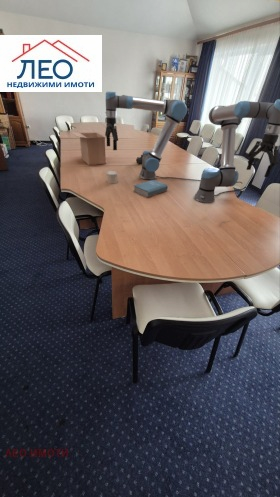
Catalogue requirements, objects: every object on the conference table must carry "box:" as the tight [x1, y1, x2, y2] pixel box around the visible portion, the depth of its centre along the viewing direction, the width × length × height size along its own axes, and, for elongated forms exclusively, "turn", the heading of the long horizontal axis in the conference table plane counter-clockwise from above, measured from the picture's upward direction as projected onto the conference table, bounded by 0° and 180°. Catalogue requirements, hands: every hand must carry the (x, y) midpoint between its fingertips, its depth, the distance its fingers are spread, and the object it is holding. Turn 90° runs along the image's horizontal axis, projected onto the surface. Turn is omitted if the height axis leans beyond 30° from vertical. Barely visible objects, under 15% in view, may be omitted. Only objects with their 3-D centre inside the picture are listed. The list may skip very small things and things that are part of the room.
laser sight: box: [135, 154, 143, 165], centre depth 237 cm, size 10×22×10 cm, turn 78°
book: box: [133, 179, 169, 198], centre depth 177 cm, size 23×16×5 cm
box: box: [70, 129, 113, 166], centre depth 229 cm, size 44×36×27 cm
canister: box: [106, 170, 118, 184], centre depth 189 cm, size 9×9×8 cm
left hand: (111, 148), depth 175 cm, fingers open, 13 cm apart
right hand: (256, 173), depth 132 cm, fingers open, 13 cm apart
